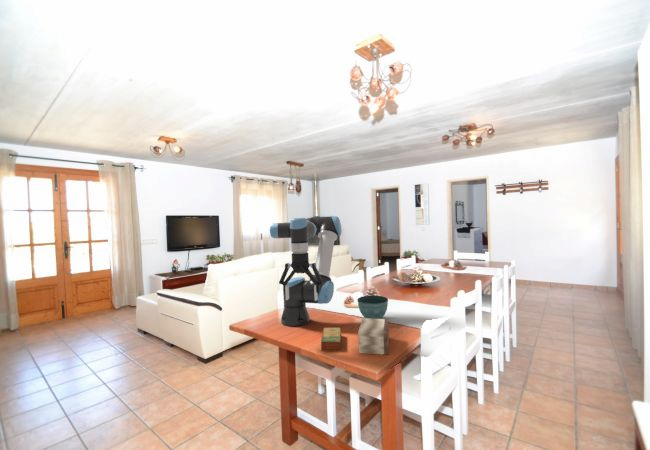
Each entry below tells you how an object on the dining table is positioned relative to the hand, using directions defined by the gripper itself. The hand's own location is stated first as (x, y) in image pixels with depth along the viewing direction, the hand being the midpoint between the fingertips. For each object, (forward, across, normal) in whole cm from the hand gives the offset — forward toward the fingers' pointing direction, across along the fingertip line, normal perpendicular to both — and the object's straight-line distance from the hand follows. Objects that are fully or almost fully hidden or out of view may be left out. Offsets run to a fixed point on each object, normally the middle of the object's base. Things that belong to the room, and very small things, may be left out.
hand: (301, 299), depth 135 cm
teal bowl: (+19, +30, +32) cm, 47 cm away
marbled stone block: (+19, +31, -1) cm, 36 cm away
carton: (+19, +13, 0) cm, 23 cm away
